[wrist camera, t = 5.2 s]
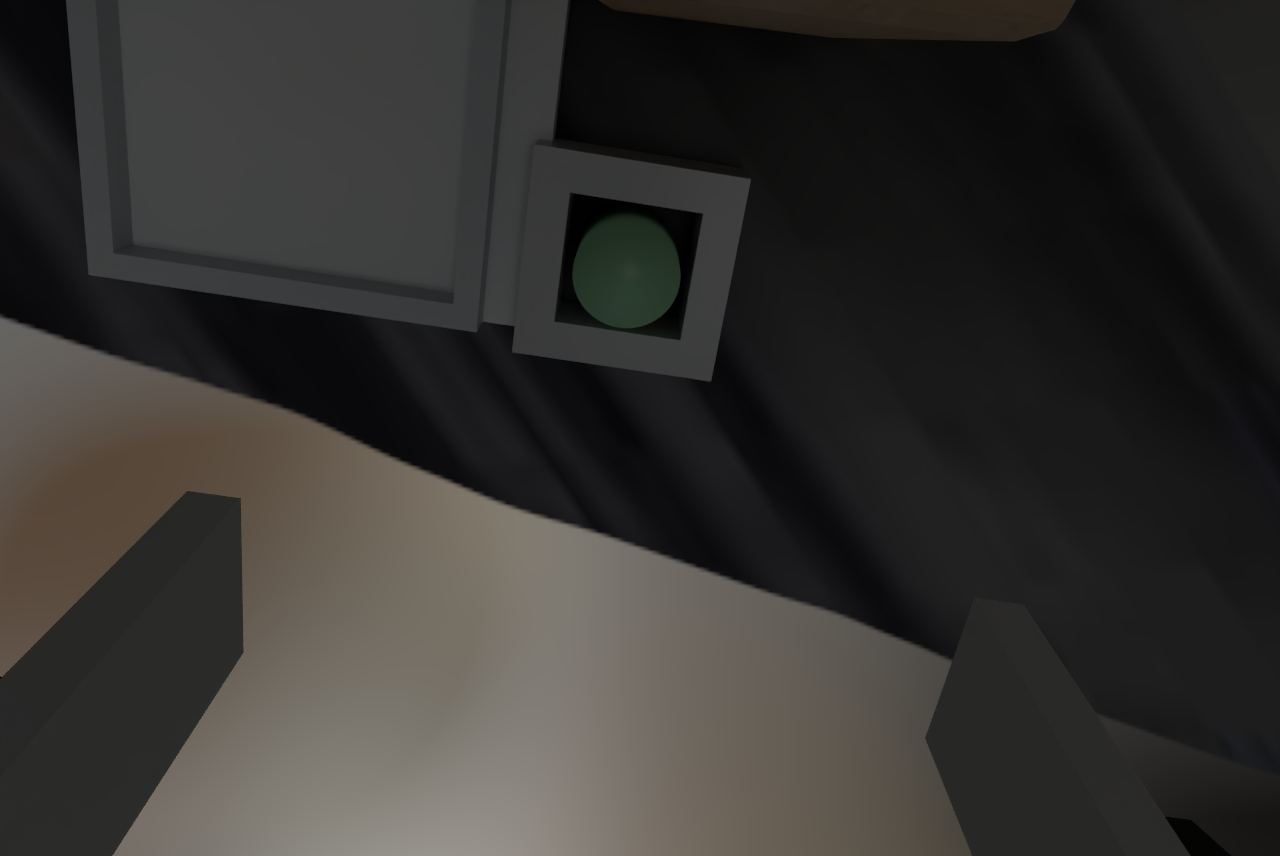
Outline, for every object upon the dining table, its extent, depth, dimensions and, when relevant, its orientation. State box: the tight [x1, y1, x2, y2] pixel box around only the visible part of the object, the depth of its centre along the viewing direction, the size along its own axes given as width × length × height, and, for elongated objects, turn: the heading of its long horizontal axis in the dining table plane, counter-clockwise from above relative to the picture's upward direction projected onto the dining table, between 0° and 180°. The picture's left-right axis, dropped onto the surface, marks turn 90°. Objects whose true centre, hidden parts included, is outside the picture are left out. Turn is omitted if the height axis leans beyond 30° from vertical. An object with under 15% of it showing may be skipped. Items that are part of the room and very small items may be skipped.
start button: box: [572, 206, 681, 328], centre depth 36 cm, size 4×4×3 cm
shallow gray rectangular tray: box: [66, 0, 571, 332], centre depth 34 cm, size 15×17×3 cm
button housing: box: [512, 138, 751, 381], centre depth 36 cm, size 8×8×3 cm
